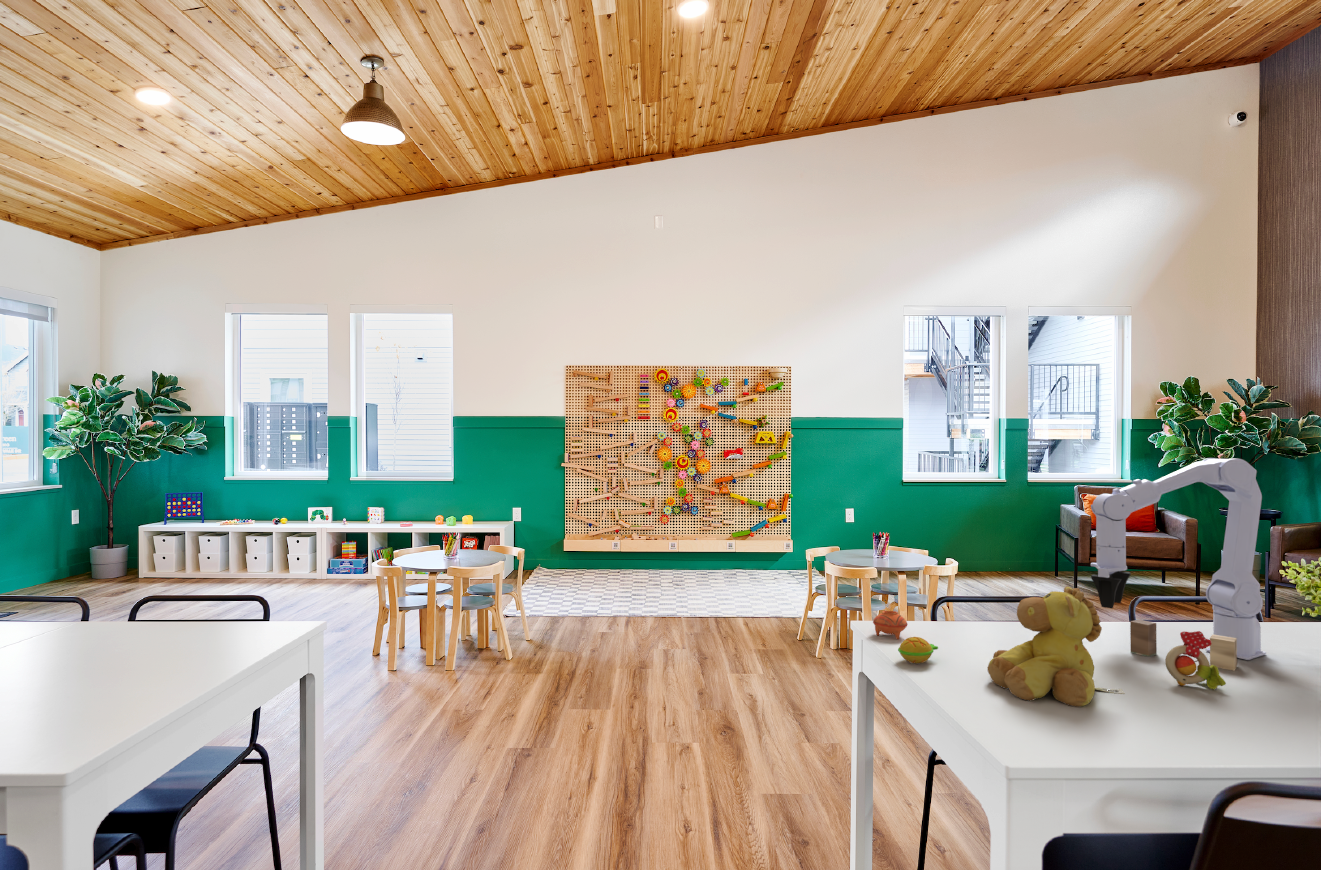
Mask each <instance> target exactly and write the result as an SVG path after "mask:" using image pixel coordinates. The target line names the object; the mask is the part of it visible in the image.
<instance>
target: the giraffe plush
mask: <svg viewBox="0 0 1321 870" xmlns="http://www.w3.org/2000/svg"><path fill="white" fill-rule="evenodd" d="M1018 603H1019V604H1018V605H1017V607H1016V617H1017V619H1018V622H1019V623H1020V624H1021V626H1023V628H1025V629H1028V630H1029V631H1032V632H1038V633H1036V634H1035V635H1034V636H1033V638H1032V639H1031V640H1027V641H1025V642H1023V643H1021V644H1018V645H1015V646H1014V647H1012V648H1010V649H1008V650H1006V649H1003V650H1002V649H999V650H997V651H995V652H994V653H993V656H992V658H991V659H990V661H989V662H988V664H987V672H988V675H989V677H990V679H991V681H992V682H993V683H994V684H995V685H997V686H999V687H1001V686H1002V687H1001V688H1003V687H1004V688H1003V689H1006V688H1009V689H1008V690H1009V691H1010V693H1011V694H1012V695H1013V696H1015V697H1017V698H1018V697H1019V698H1018V699H1020V700H1023V699H1024V701H1027V700H1029V701H1030V700H1031V701H1034V700H1033V699H1035V700H1036V699H1038V698H1039V699H1041V698H1044V697H1045V696H1046V695H1047V694H1048V693H1049V692H1050V690H1051V689H1052V696H1053V698H1055V700H1056V701H1058V702H1061V703H1063V704H1064V703H1065V705H1068V706H1071V707H1084V706H1086V705H1088V704H1089V703H1090V702H1091V701H1092V699H1093V698H1094V696H1095V690H1097V691H1099V692H1100V691H1101V692H1104V693H1109V692H1110V694H1117V693H1118V695H1119V694H1120V695H1125V694H1126V693H1125V692H1124V691H1123V689H1122V688H1109V689H1110V690H1108V691H1107V689H1108V688H1105V687H1096V686H1095V681H1094V679H1093V678H1094V673H1095V665H1094V661H1093V657H1092V655H1091V654H1090V653H1089V650H1088V649H1087V648H1086V647H1085V646H1084V643H1083V640H1084V639H1086V641H1088V642H1089V643H1093V642H1095V640H1097V639H1098V638H1099V637H1100V636H1101V633H1102V630H1103V629H1102V626H1101V624H1100V623H1101V619H1100V615H1099V613H1098V610H1096V608H1095V606H1094V604H1095V603H1093V602H1092V601H1091V600H1089V599H1088V598H1086V597H1085V593H1084V592H1083V591H1081V589H1080V588H1078V587H1076V588H1075V587H1074V588H1072V587H1070V586H1065V587H1064V588H1063V591H1050V592H1049V593H1047V594H1045V595H1044V596H1043V597H1038V596H1031V597H1026V598H1023V599H1021V600H1020V601H1019V602H1018ZM1029 701H1028V702H1029Z"/></svg>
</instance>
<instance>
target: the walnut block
mask: <svg viewBox="0 0 1321 870" xmlns="http://www.w3.org/2000/svg"><path fill="white" fill-rule="evenodd" d="M1129 629H1130V635H1129V636H1130V654H1131V653H1132V654H1134V655H1135V654H1136V655H1139V656H1142V657H1143V656H1144V657H1153V656H1156V655H1158V654H1157V653H1158V651H1157V649H1158V647H1157V644H1158V643H1157V622H1153V621H1149V620H1142V619H1135V620H1130V628H1129Z"/></svg>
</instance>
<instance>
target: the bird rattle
mask: <svg viewBox="0 0 1321 870" xmlns="http://www.w3.org/2000/svg"><path fill="white" fill-rule="evenodd" d="M1179 635H1180V638H1181V641H1182V642H1183V644H1182V645H1177V646H1174V647H1173V648H1171V649H1169V651H1168V652H1167V653H1166V656H1165V660H1164V661H1165V662H1164V663H1165V667H1166V669H1167V672H1168V673H1169V675H1171V677H1172V678H1173V679H1174V680H1176V682H1177V685H1179V686H1181V687H1184V686H1186V685H1195V684H1199V683H1202V682H1205V681H1206V685H1207V688H1209V690H1212V691H1213V690H1216V689H1217V688H1218V687H1219V686H1220V687H1223V686H1226V684H1227V682H1226V681H1225V679H1224V678H1223V677H1222V676H1221V675H1220V671H1219V668H1217V667H1216V666H1214V665H1211V666H1210V660H1209V659H1208V657H1207V656H1206V655H1205V653H1204V652H1203V651H1201V650H1205V649H1207V648H1209V647H1210V645H1211V644H1212V643H1211V640H1210V638H1209V639H1208V638H1207V637H1205V635H1204V633H1203V632H1202V631H1200V630H1198V631H1191V632H1190V631H1181V632H1180V634H1179ZM1193 658H1194V659H1196V660H1194V659H1193ZM1197 662H1198V664H1197Z"/></svg>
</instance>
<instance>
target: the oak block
mask: <svg viewBox="0 0 1321 870" xmlns="http://www.w3.org/2000/svg"><path fill="white" fill-rule="evenodd" d="M1209 640H1211V643H1212V644H1211V645H1210V646H1209V648H1210V652H1209V664H1210V666H1211V665H1214V666H1216V667H1217V668H1218V669H1223V670H1228V671H1229V670H1230V671H1236V669H1237V666H1238V658H1237V638H1232V637H1226V636H1220V635H1213V634H1211V636H1210V637H1209Z"/></svg>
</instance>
